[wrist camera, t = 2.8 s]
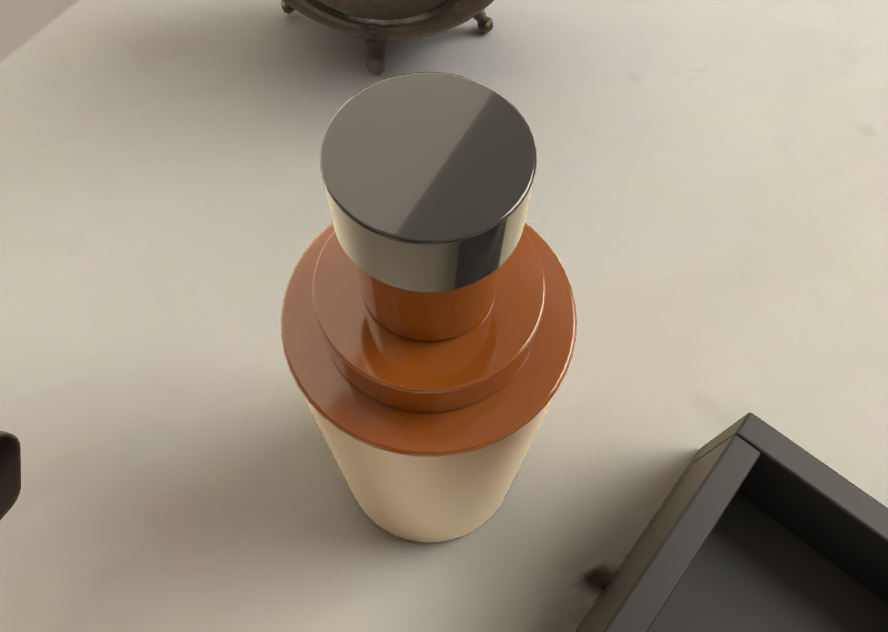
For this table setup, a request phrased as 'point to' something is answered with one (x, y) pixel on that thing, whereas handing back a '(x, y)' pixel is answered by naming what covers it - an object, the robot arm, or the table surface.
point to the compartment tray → (754, 547)
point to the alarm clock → (391, 19)
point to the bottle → (428, 304)
